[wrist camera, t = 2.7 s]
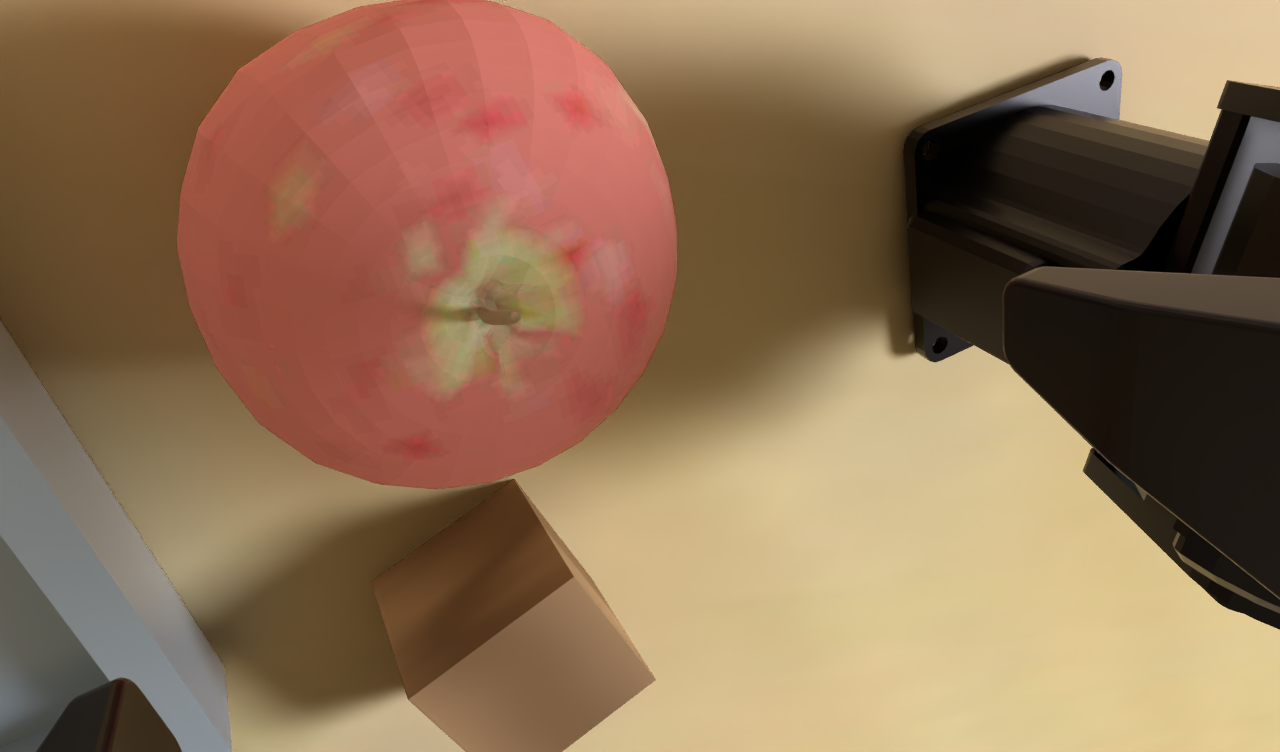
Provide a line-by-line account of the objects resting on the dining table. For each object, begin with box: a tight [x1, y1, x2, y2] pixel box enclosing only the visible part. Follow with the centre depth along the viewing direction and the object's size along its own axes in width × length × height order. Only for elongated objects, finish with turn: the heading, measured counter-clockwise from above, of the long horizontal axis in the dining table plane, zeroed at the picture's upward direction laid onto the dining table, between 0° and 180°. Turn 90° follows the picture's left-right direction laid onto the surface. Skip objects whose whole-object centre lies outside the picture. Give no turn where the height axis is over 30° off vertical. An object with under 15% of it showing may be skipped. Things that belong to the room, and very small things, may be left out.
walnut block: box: [371, 479, 656, 752], centre depth 22 cm, size 4×4×4 cm
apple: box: [177, 0, 677, 489], centre depth 15 cm, size 7×7×8 cm
